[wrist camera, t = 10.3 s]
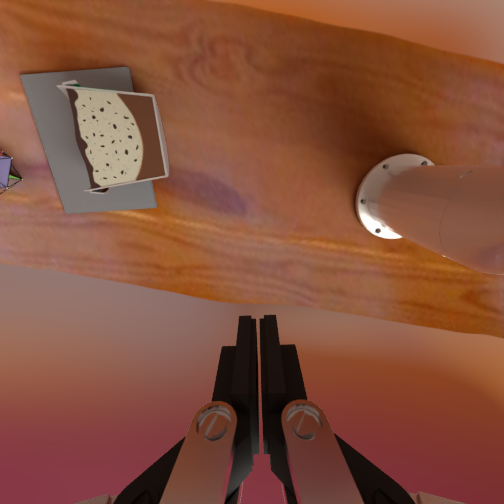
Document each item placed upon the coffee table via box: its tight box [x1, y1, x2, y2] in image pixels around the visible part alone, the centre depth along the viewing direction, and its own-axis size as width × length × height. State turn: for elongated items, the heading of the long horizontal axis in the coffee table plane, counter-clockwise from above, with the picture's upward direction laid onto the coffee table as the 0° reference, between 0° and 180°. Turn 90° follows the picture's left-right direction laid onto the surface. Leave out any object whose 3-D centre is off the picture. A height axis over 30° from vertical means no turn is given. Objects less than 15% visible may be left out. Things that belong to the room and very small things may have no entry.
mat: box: [20, 67, 157, 214], centre depth 34 cm, size 14×18×1 cm
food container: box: [56, 80, 169, 194], centre depth 31 cm, size 12×6×10 cm
